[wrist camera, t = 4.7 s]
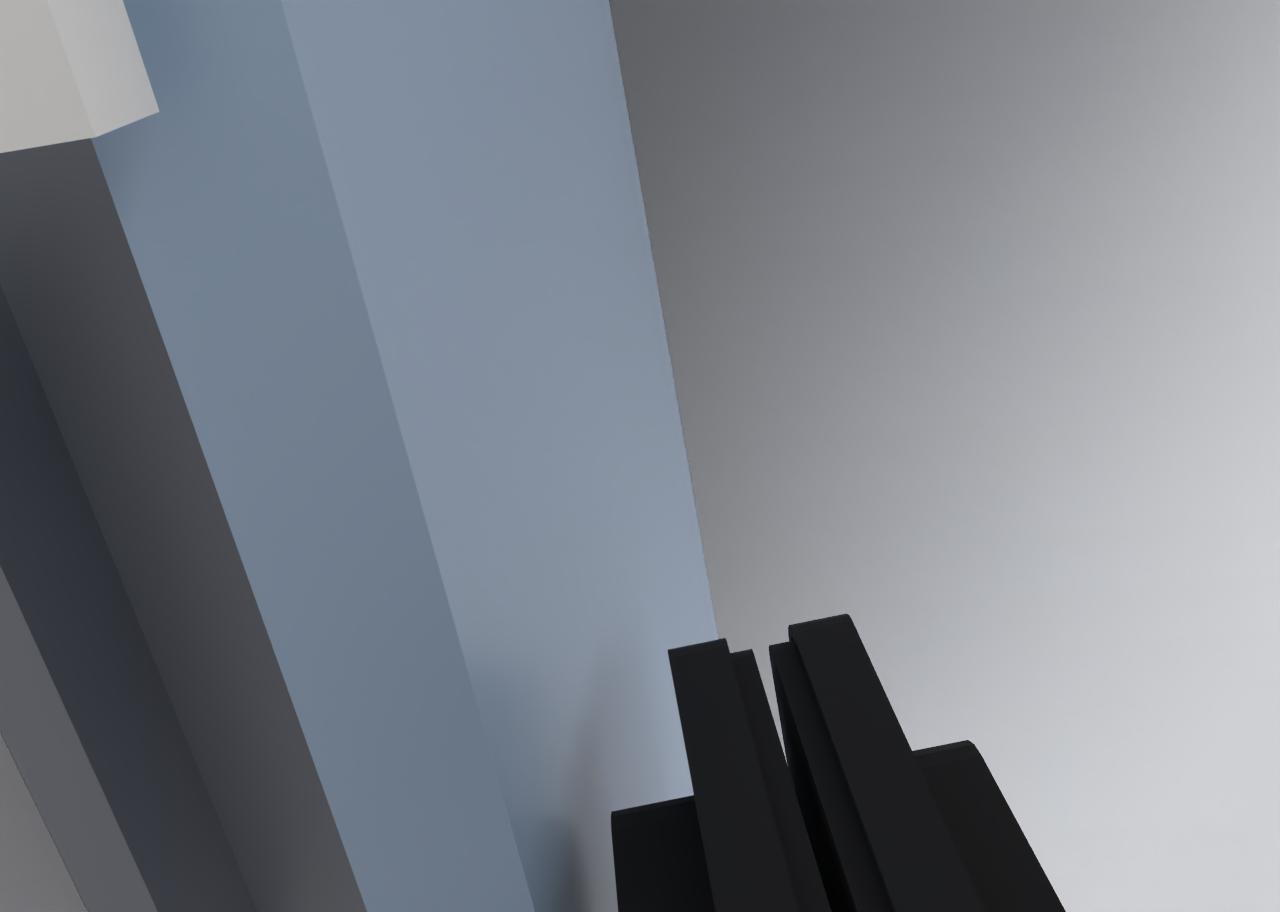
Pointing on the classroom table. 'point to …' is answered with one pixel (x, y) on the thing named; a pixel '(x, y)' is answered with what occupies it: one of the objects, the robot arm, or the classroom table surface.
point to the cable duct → (133, 593)
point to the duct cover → (415, 400)
